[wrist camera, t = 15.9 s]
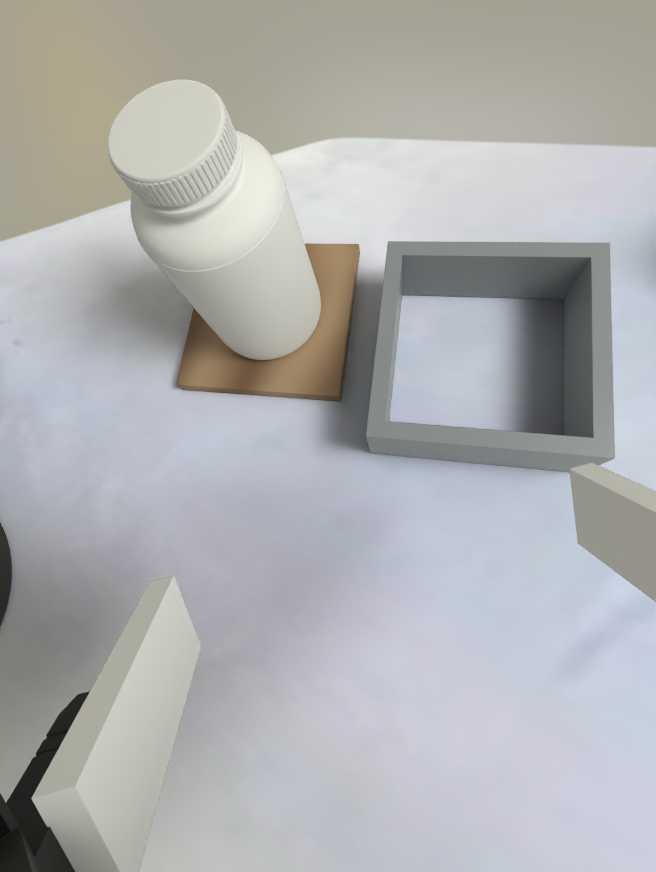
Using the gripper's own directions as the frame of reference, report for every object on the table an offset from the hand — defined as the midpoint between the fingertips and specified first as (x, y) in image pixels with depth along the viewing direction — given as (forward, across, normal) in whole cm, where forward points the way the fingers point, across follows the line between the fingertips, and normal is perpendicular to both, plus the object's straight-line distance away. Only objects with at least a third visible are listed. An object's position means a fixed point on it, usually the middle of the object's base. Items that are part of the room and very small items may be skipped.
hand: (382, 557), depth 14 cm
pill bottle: (+21, -2, +9) cm, 23 cm away
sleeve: (+16, +11, +2) cm, 20 cm away
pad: (+22, -2, +8) cm, 24 cm away
